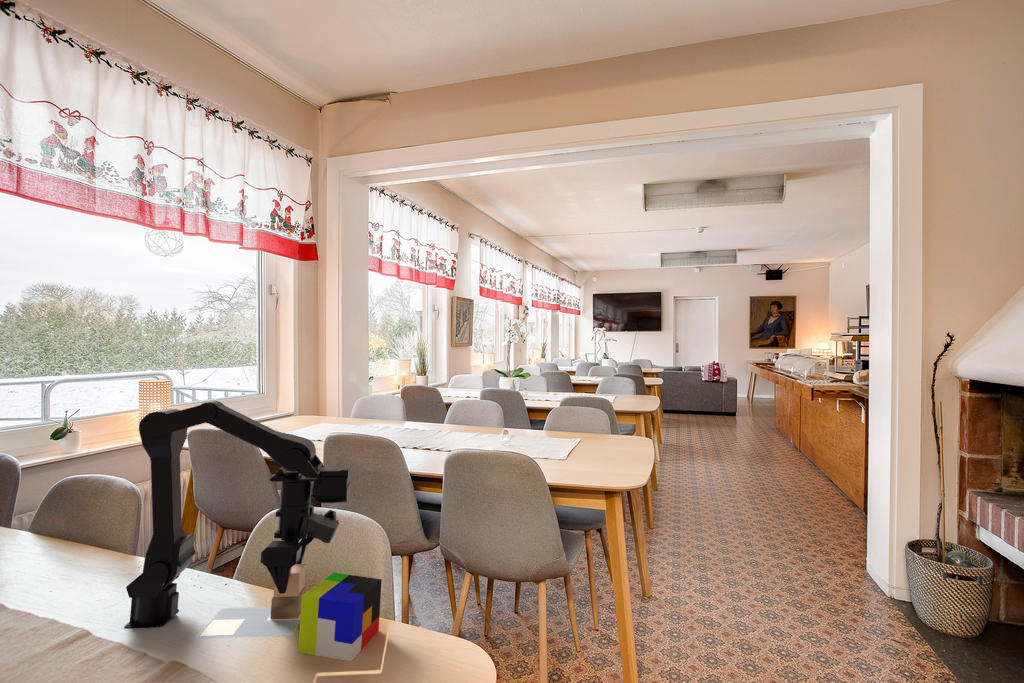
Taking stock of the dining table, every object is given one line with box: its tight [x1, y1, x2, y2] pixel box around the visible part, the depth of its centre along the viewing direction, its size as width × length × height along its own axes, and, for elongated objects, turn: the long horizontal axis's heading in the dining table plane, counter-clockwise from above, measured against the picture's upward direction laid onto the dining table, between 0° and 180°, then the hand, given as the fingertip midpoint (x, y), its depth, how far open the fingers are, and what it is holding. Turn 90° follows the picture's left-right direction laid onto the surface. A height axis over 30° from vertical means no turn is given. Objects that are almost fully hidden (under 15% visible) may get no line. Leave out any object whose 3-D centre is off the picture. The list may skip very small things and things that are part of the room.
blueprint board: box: [195, 606, 301, 639], centre depth 95 cm, size 16×12×1 cm
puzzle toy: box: [297, 572, 383, 662], centre depth 89 cm, size 10×10×10 cm
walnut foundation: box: [270, 585, 306, 619], centre depth 98 cm, size 5×5×4 cm
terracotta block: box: [273, 563, 307, 597], centre depth 99 cm, size 4×4×4 cm
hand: (289, 582), depth 99 cm, fingers open, 9 cm apart
